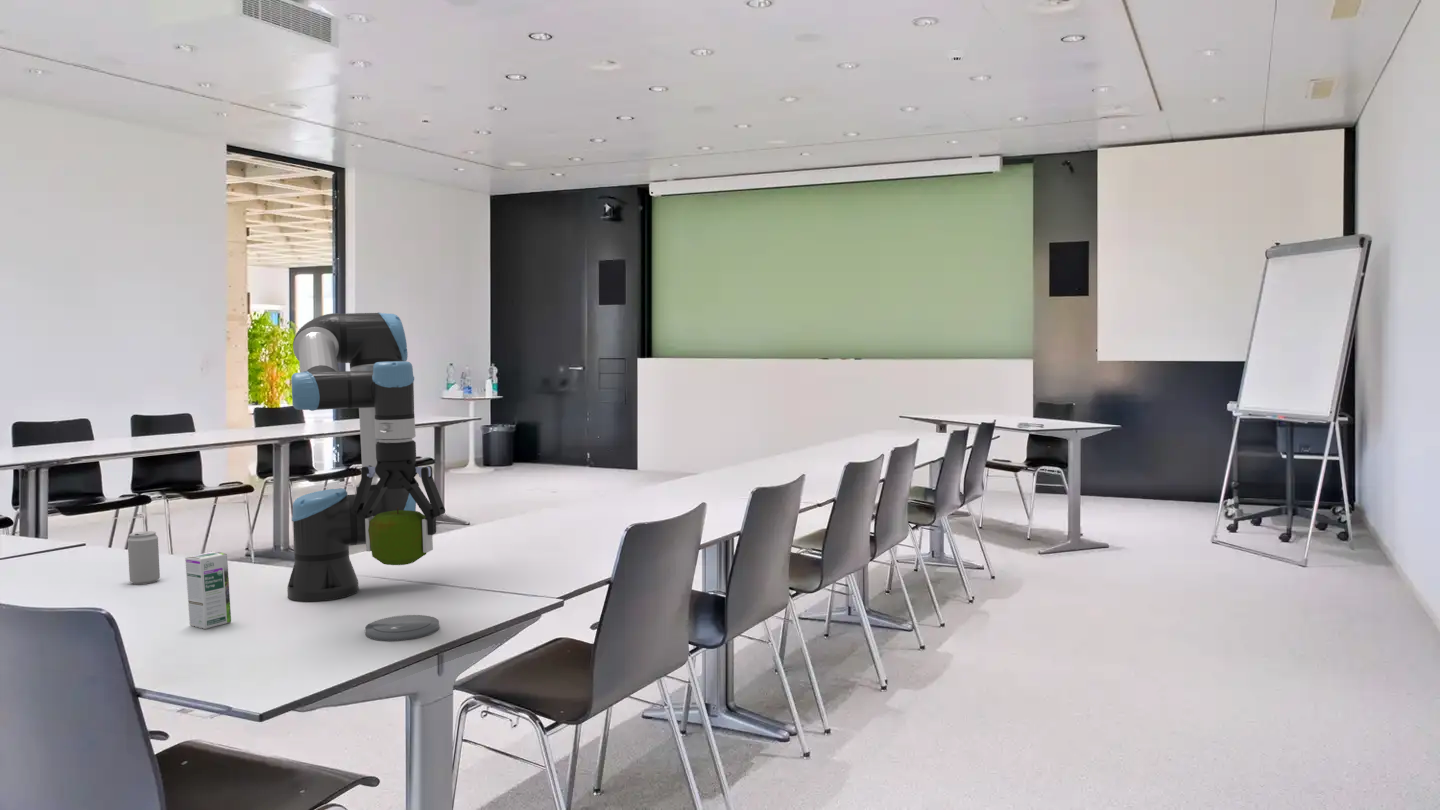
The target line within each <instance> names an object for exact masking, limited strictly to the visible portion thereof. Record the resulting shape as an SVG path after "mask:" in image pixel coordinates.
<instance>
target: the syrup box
mask: <svg viewBox="0 0 1440 810" xmlns="http://www.w3.org/2000/svg"><path fill="white" fill-rule="evenodd" d="M184 559H185V574H186V576H185V577H186V589H187V601H188V603H187V604H188V616H189V617H188V618H189V619H188V620H189V625H190V626H192V627H194V626H195V627H194V628H197V627H199V628H198V629H202V628H203V630H208V629H210V628H214V627H218V626H221V625H225V624H230V623H231V622H232V613H231V612H232V611H231V594H230V582H229V578H230V577H229V562H228V561H229V560H228V555H227V553H224V552H221V551H212V550H211V551H209V552H205V553H200V554H199V553H198V554H194V555H190V556H189V555H188V556H186V557H184Z"/></svg>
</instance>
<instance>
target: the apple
mask: <svg viewBox="0 0 1440 810" xmlns="http://www.w3.org/2000/svg"><path fill="white" fill-rule="evenodd" d="M425 518H426V517H425V515H424V514H423V512H420V511H417V510H416V511H408V510H398V508H397V510H396V511H388V512H383V513H379V514H377V515H376V516H375V517H374V518H373V519H372V520H371V521H370V523H369V529H368V532H369V538H370V545H371V551H370V552H371V556H372V558H374V559H375V560H377V561H379V562H380V563H381V564H383V565H385V566H386V565H388V566H405V565H410V564H413V563H414V562H416V561H418V560H419V559H420V558H423V557H424V556H425V555H427V553H423V531H422V519H425Z"/></svg>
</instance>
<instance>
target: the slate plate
mask: <svg viewBox="0 0 1440 810" xmlns="http://www.w3.org/2000/svg"><path fill="white" fill-rule="evenodd" d="M439 629H440V621H439V619H438V618H437V617H434V616H431V615H424V614H423V615H422V614H408V615H406V614H404V615H395V616H389V617H384V618H380V619H377V620H374V621H372V622H370V623H368V624H367V625H366V626H365V628H364V631H365V632H364V633H365V637H366V638H368V639H371V640H374V641H381V642H384V641H385V642H397V641H398V642H399V641H409V640H410V641H411V640H415V639H419V638H424V637H427V636H429V635H430V636H431V635H433V634H434V633H436V632H437V631H438V630H439Z"/></svg>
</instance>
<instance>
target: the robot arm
mask: <svg viewBox="0 0 1440 810" xmlns="http://www.w3.org/2000/svg"><path fill="white" fill-rule="evenodd" d="M292 342H293V343H292V349H293V354H294V356H295V358H296V359H297V360H298V362H299V372H294V373H292V375H291V377H290V378H291V398H292V399H291V400H292V406H293V408H294V409H295V410H299V411H312V412H314V411H322V410H341V409H342V410H343V409H358V414H359V416H358V417H359V436H360V437H359V438H360V450H361V451H360V454H361V467H360V468H361V469H360V477H361V479H360V481H359V483H357V485H356V487H355V491H356V493H354V494H348V491H347V490H346V488H341V487H339V488H330V489H323V490H319V491H314V492H310V493H306V494H304V495H301V496H299V497H297V498H295V500H294V501H293V503H292V517H291V521H292V523H293V525H292V526H293V549H294V550H293V553H294V556H293V557H294V564H293V567H292V570H291V574H290V577H289V581H288V583H287V588H286V589H287V590H286V591H287V598H288V599H289V600H292V601H298V602H320V601H321V602H323V601H330V600H338V599H341V598H346V597H349V596H352V595H354V594H356V593H358V592H359V580H358V576H357V574H356V571H355V569H354V566H353V564H352V561H351V559H350V548H349V547H350V546H359V545H360V546H361V545H365V550H366V552H372V551H371V545H370V538H369V532H368V529H369V523H370V521H371V520H372V519H373V518H374V517H375V516H376V515H377V514H379V513H383V512H388V511H396V510H397V508H398V510H408V511H417V506H418V508H419V509H420V511H421V513H422V514H423V515H424V516H425V517H426V518H425V519H422V531H423V553H426V554H427V553H430V552H431V551H433V550H434V546H433V535H435V534H437V517H440V516H441V515H445V513H446V509H445V506H444V504H443V501H442V498H441V496H440V493H439V490H438V488H437V485H436V482H435V480H434V477H433V467H432V466H431V465H427V466H418V465H417V450H416V449H417V444H416V441H415V440H414V439H415V437H416V420H415V417H416V416H415V390H414V388H415V387H414V386H415V385H414V382H415V376H414V369H413V364H412V363H411V362H410V361H407V360H408V357H409V356H408V353H409V352H408V346H407V337H406V332H405V329H404V325H403V321H402V320H401V318H400V317H399V316H398V315H397V314H394V313H384V312H383V313H382V312H358V313H356V312H353V313H349V312H348V313H339V312H338V313H337V312H335V313H326V314H323V315H319V316H317V317H315V318H313V319H311V320H309V321H308V322H306V323H305V324H303V325H302V326H301V327H300V328H299V329H298V330H297V332H296V333H295V336H294V338H293V341H292ZM339 364H349V370H342V371H341V370H339ZM417 475H418V477H419V478H421V482H422V485H423V488H424V490H425V492H426V493H424V492H423V491H422V489H421V487H420V485H419V482H418V481H417V479H416V478H415V477H416V476H417ZM425 494H426V495H425Z"/></svg>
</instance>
